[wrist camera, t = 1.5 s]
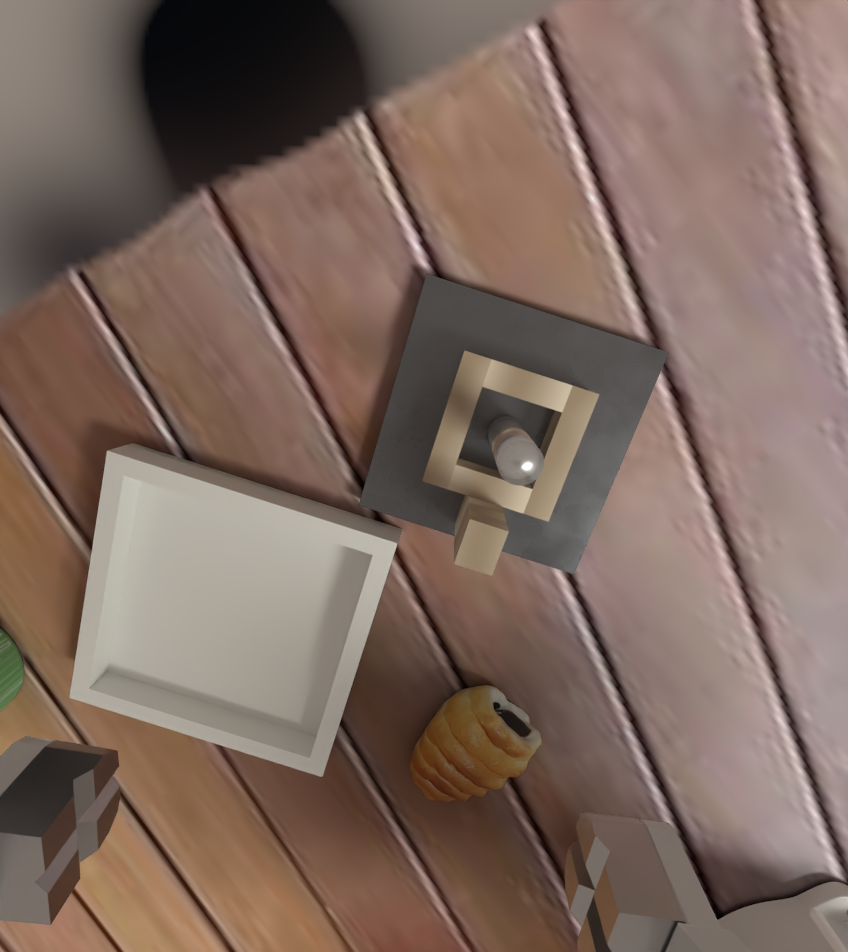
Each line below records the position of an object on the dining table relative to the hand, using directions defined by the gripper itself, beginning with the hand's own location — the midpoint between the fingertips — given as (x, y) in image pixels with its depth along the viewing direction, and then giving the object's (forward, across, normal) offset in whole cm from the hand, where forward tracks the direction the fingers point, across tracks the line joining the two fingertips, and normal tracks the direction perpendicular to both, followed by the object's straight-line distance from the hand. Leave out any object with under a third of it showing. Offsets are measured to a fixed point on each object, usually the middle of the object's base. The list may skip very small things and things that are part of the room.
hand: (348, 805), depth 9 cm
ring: (+23, +5, +1) cm, 23 cm away
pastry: (+23, +7, -19) cm, 31 cm away
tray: (+24, -10, -12) cm, 29 cm away
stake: (+24, +5, +2) cm, 24 cm away
